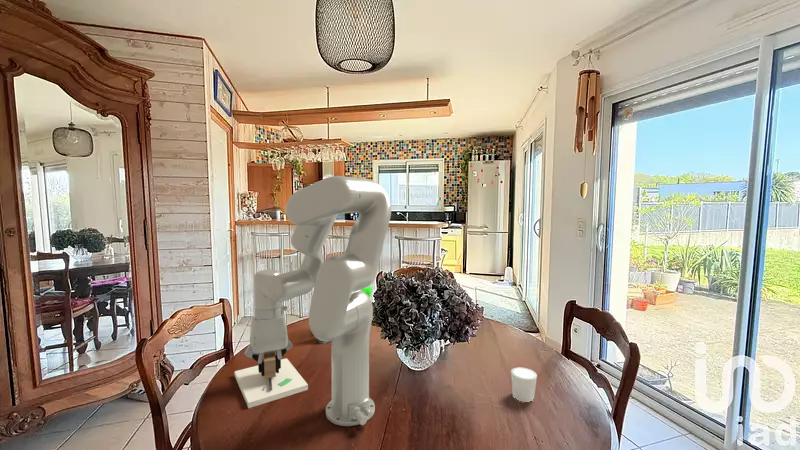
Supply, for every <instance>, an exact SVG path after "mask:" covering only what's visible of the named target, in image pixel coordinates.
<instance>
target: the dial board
mask: <svg viewBox="0 0 800 450" xmlns="http://www.w3.org/2000/svg"><path fill="white" fill-rule="evenodd" d="M234 377H235V380H236V382H237V384H238V385H237V386H238V388H239V390H240V391H241V394H242V396H243V399H244V401H245V404H246V406H247V408H248V409H252V408H253V407H254V408H255V407H257V406H261V405H264V404H266V403H267V404H268V403H270V402H274V401H276V400H280V399H282V398H286V397H289V396H292V395H295V394H299V393H302V392H305V391H308V390H309V384H308V383H307V381H306V380H305V378H303V377H302V375H301V374H300V372H298V370H297V369H296V368H295V367H294V365H293V364H292V362H290V360H289V359H288V357H286V358H282V359H281V368H280V369H279V373H276V377H273V378H271V380H272V390H270V391H269V379H268V378H266V379H265V375H264V376H262V375H261V373H259V370H258V365H254V366H250V367H246V368H243V369H238V370H235V371H234Z"/></svg>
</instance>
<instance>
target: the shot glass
mask: <svg viewBox="0 0 800 450" xmlns="http://www.w3.org/2000/svg"><path fill="white" fill-rule="evenodd" d="M510 373H511V374H510V375H511V387H512V389H511V390H512V397H513V399H514V398H516V399H517V400H519V401H518V402H520V401H523V402H522V403H524V402H530V401H532V402H533V401H534V400H535V393H536V386H537V381H538V380H537V379H538V374H537V373H536V372H535V371H534V370H532V369H531V368H527V367H522V366H521V367H518V366H517V367H514V368H512V369H511V370H510ZM516 399H515V400H516ZM533 399H534V400H533ZM517 400H516V401H517ZM530 403H531V402H530Z"/></svg>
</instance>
